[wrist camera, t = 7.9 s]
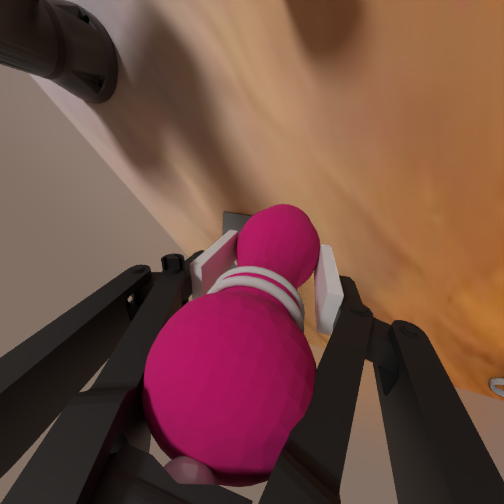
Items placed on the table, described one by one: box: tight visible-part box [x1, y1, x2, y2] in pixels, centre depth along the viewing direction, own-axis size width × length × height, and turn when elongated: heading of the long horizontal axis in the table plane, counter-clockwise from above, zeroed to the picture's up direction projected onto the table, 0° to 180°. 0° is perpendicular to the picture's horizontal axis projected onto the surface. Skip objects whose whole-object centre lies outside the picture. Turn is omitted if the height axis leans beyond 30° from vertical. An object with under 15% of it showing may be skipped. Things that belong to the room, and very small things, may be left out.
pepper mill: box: [142, 204, 320, 487], centre depth 12 cm, size 7×7×20 cm
